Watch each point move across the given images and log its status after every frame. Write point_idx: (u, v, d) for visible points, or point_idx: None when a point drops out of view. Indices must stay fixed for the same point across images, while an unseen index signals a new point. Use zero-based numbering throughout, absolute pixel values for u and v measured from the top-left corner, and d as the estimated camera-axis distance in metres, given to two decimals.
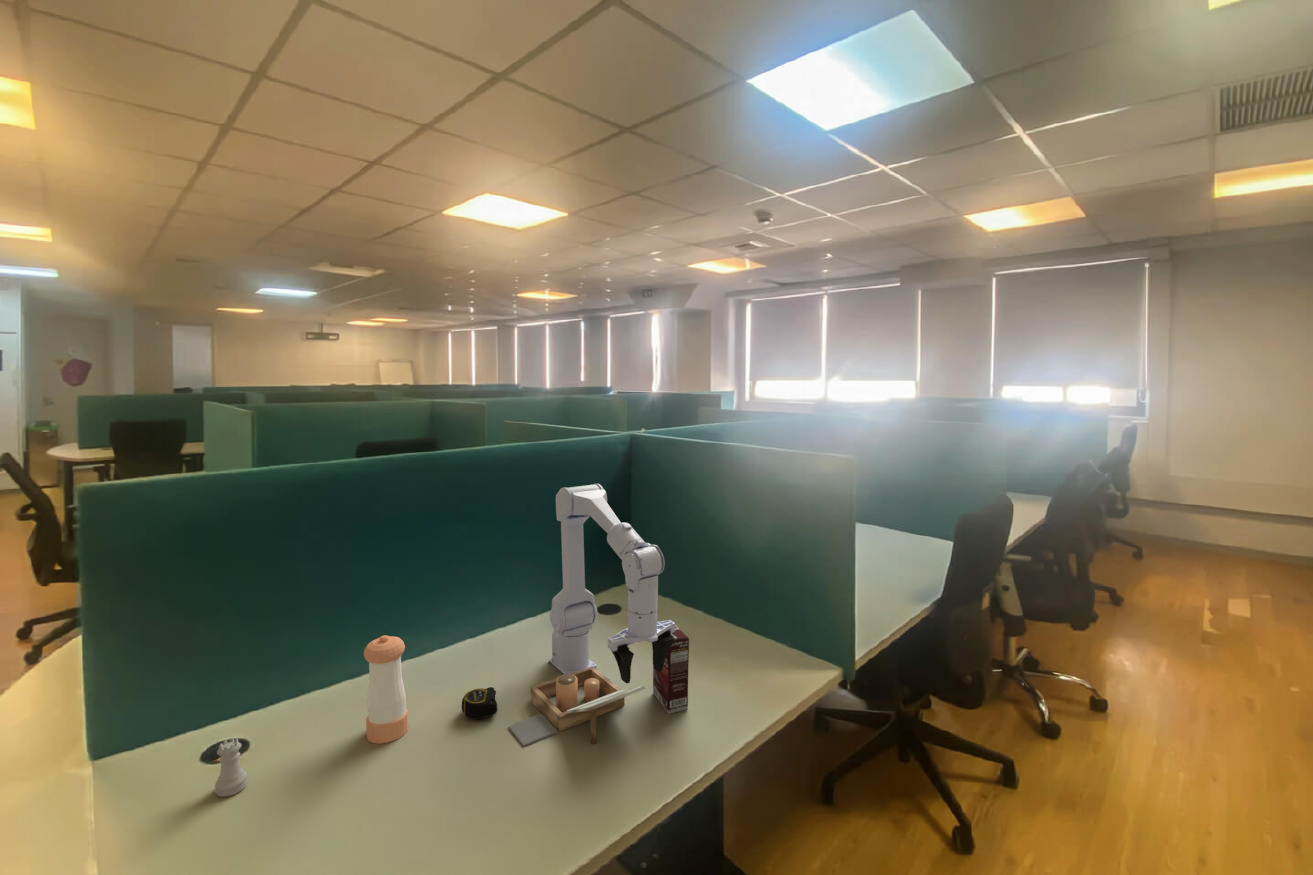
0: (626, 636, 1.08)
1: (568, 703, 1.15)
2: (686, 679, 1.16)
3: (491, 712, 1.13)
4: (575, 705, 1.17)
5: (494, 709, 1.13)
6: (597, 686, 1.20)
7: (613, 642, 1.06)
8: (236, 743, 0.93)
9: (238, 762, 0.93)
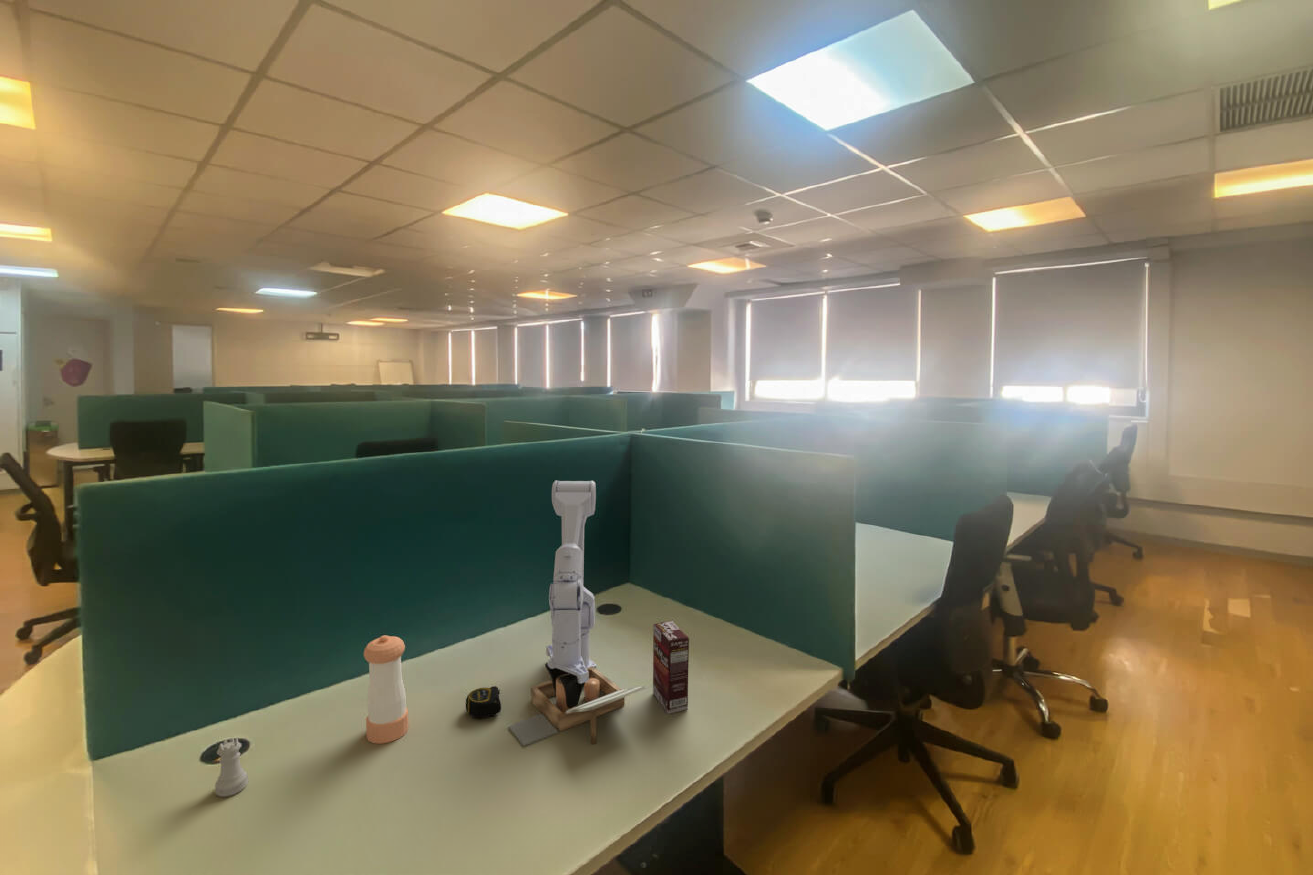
0: None
1: None
2: (686, 679, 1.16)
3: (495, 711, 1.13)
4: None
5: (498, 708, 1.14)
6: (597, 686, 1.20)
7: (546, 647, 1.22)
8: (236, 743, 0.93)
9: (238, 762, 0.93)
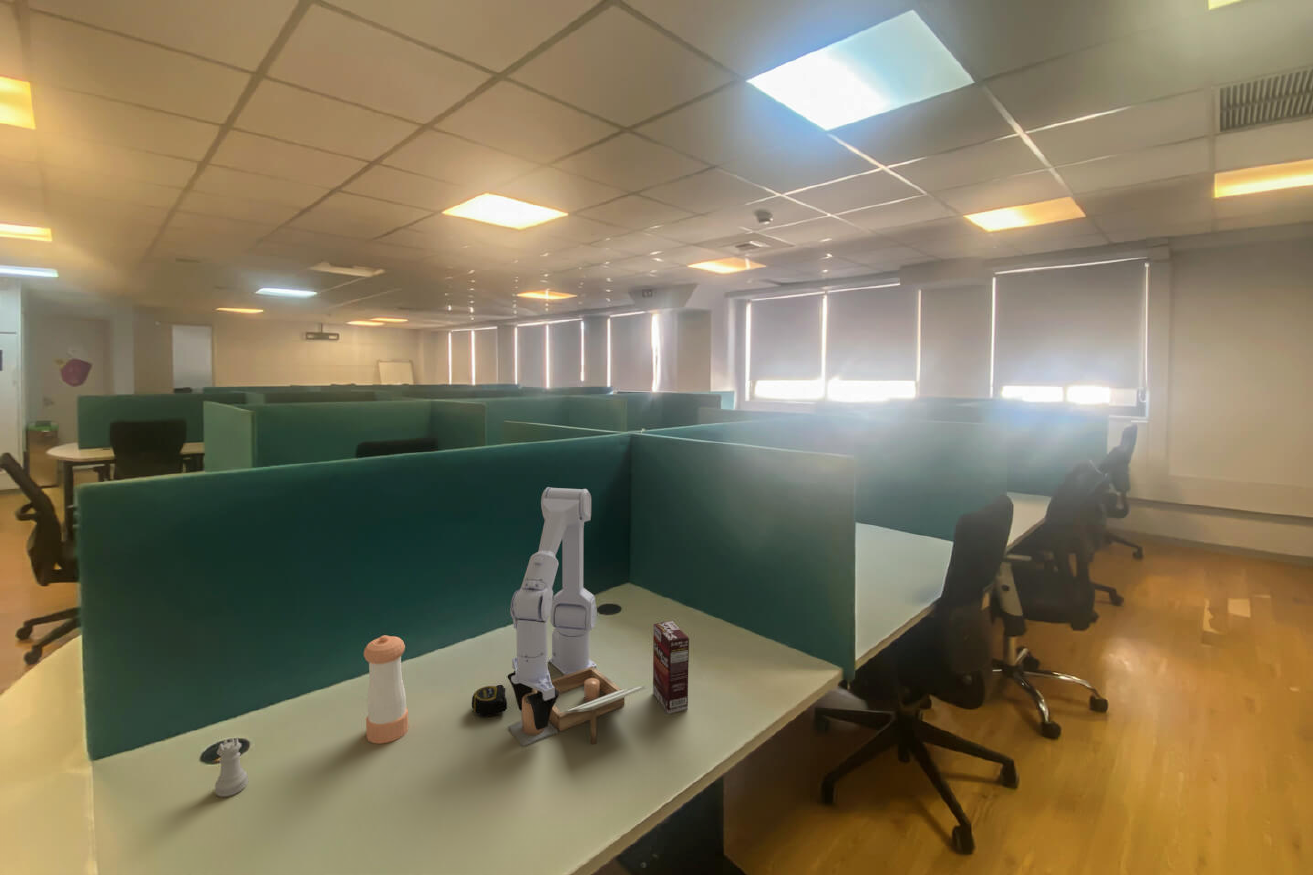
0: None
1: None
2: (686, 679, 1.16)
3: (501, 709, 1.14)
4: None
5: (504, 706, 1.14)
6: (597, 686, 1.20)
7: (512, 659, 1.14)
8: (236, 743, 0.93)
9: (238, 762, 0.93)
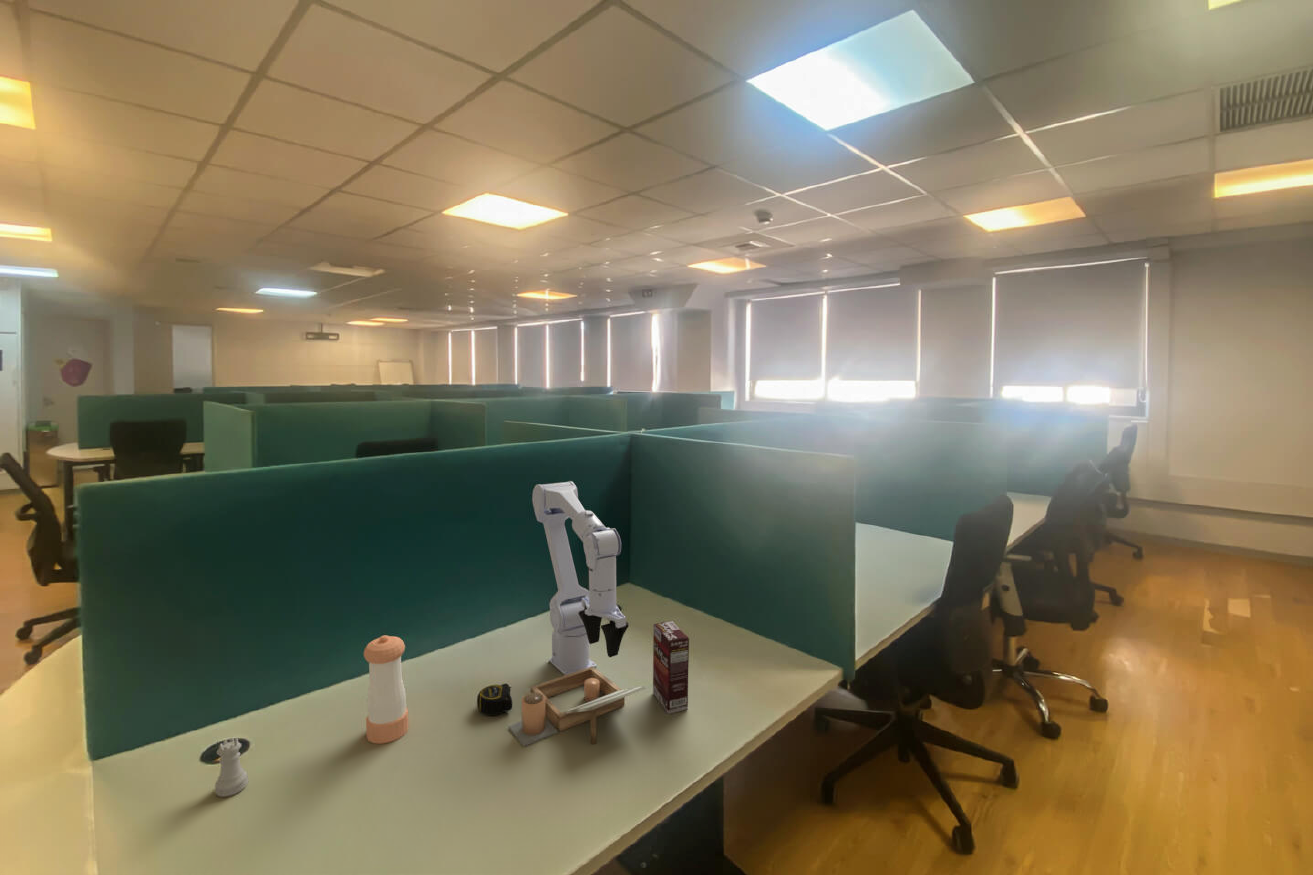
0: None
1: (535, 724, 1.08)
2: (686, 679, 1.16)
3: (506, 708, 1.14)
4: (543, 725, 1.09)
5: (509, 705, 1.15)
6: (597, 686, 1.20)
7: (582, 598, 1.26)
8: (236, 743, 0.93)
9: (238, 762, 0.93)
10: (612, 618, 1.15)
